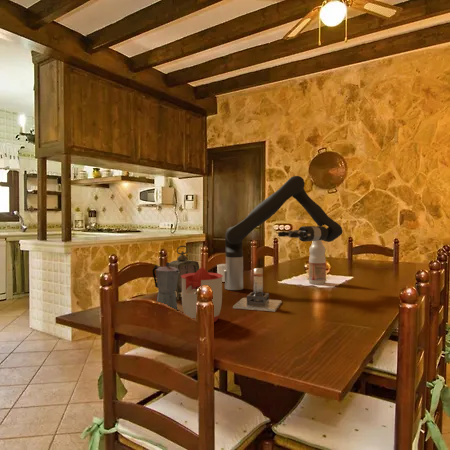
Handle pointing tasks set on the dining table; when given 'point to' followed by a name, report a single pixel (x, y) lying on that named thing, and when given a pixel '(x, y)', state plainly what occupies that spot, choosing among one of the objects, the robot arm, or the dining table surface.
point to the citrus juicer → (193, 283)
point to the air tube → (258, 283)
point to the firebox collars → (258, 303)
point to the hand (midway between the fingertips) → (284, 234)
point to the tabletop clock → (183, 268)
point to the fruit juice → (317, 263)
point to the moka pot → (166, 284)
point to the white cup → (221, 270)
